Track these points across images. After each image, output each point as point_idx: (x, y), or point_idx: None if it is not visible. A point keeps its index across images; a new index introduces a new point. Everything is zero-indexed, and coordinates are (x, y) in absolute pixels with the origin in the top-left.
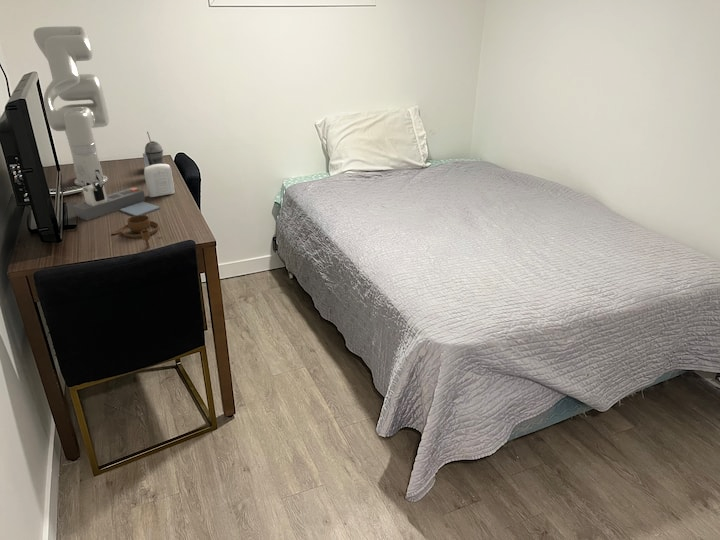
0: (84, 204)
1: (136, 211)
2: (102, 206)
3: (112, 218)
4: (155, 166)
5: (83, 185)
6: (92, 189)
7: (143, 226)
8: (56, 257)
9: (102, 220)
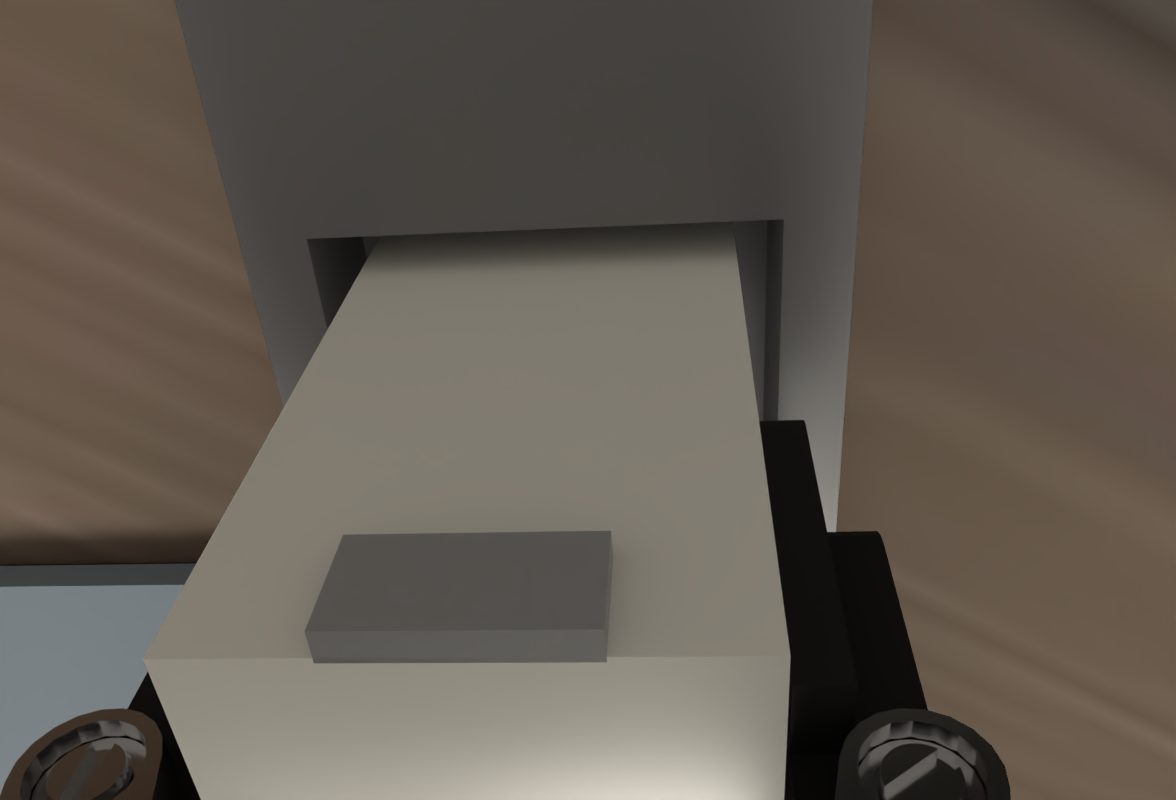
0: (656, 167)
1: (33, 672)
2: None
3: (38, 298)
4: None
5: (1001, 786)
6: (205, 734)
7: None
8: None
9: (45, 110)
